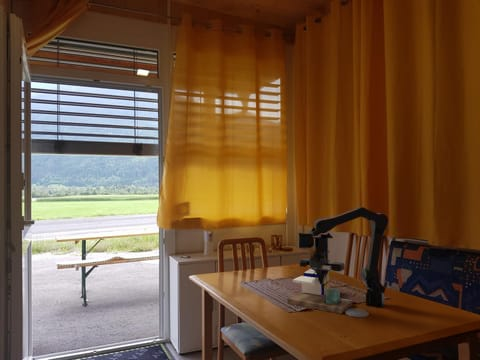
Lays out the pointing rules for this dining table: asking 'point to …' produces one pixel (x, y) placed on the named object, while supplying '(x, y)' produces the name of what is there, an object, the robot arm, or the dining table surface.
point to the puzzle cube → (313, 274)
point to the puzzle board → (319, 302)
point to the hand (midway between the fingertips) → (321, 284)
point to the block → (333, 296)
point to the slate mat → (356, 312)
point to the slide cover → (309, 284)
